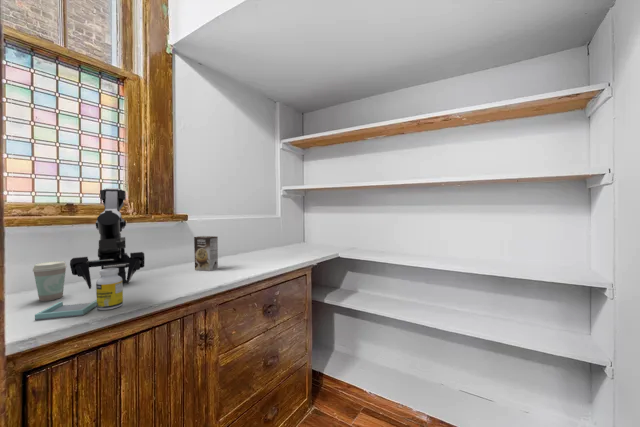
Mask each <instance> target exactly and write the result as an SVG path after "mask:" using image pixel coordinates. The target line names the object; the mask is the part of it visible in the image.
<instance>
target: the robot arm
mask: <svg viewBox="0 0 640 427" xmlns="http://www.w3.org/2000/svg"><path fill="white" fill-rule="evenodd" d="M99 198H100V201H102V204H103V206H104V210H103V211H102V212H100V213H99V215H98V216H97V218H96V222H95V229H96V230H98V233H99V235H100V237H99V240H98V249H97V257H98V259H93V260H91V259H90V260H89V257H88V256H79V257H77V256H76V257H73V258H71V259H70V262H69V267H70V270H71V274H72V275H73V276H77V277H82V278H83V281H85V283H86V285H87V287H88V289H89V290H91V289H92V280H91V273H90V268H98V267H100V268H101V269H100V270H102V269H107V268H119V273H118V276H120V277H122V280H123V284H125V283H126V284H127V285H128V284H129V283H131V282H130V281H131V280H132V278H133V276H134V275H135V273H137V271H139V270H140V269H142V268H144V267H145V260H146V258H145V253H144V251H137V252H135V251H134V252H130V253H129V254H128V252H126V236H123V237H122V234H121V232H123V229H125V227H126V226H127V222H126V221H125V219H124V218H122V213H121V212H120V211H121V209H122V208H123V206H124V202H125V201H126V200H127V199H126V191H125V190H124V189H120V188H118V187H106V188H104V189H100V190H99ZM129 255H130V256H129ZM126 268H128V269H127V271H126ZM126 274H127V275H126Z"/></svg>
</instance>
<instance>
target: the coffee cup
mask: <svg viewBox="0 0 640 427" xmlns="http://www.w3.org/2000/svg"><path fill="white" fill-rule="evenodd" d="M67 267H68V266H67V264H66V262H65V261H63V260H58V261H57V260H56V261H55V260H54V261H46V262H39V263H36V264H34V266H33V268H32V272H33V276H34V281H35V286H36V290H37V295H38V299H39V301H41V302H46V301H47V302H49V301H53V300H58V299H61V298H62V297H63V296H64V290H65V289H64V288H65V280H66V279H65V278H66V270H67Z"/></svg>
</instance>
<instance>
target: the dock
mask: <svg viewBox="0 0 640 427" xmlns="http://www.w3.org/2000/svg"><path fill="white" fill-rule="evenodd" d="M94 308H97V299H95V300H94V301H92V302H84V303H77V304H76V303H75V304H73V303H72V304H65V305H64V302H63V301H58V302H57V303H55V304H53V305H51V306H49V307H47V308H45V309H43V310H41V311H39V312H38V313H35V314H34V321H39V320H42V321H43V320H50V319H60V318H70V317H81V316H84V315H86V314H87V313H89V312H90V311H92V310H93V309H94Z"/></svg>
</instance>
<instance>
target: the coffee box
mask: <svg viewBox="0 0 640 427" xmlns="http://www.w3.org/2000/svg"><path fill="white" fill-rule="evenodd" d="M218 241H219V240H218V236H214V235H213V236H212V235H200V236H198V235H197V236H194V237H193V246H194V250H193V251H194V270H195V271H205V272H212V271H215V270H218V269H219V263H218V261H219V257H218V256H219V255H218V254H219V251H218V250H219V249H218V247H219V244H218V243H219V242H218Z"/></svg>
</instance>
